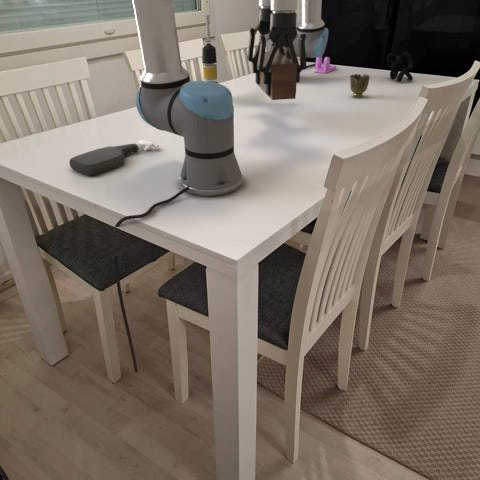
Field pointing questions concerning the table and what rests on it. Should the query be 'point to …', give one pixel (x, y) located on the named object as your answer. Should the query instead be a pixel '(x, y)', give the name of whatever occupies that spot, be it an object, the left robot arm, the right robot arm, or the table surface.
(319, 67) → the bracket
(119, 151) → the spray bottle
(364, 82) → the cup
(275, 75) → the box
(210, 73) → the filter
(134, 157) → the table surface
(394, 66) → the squiggle
